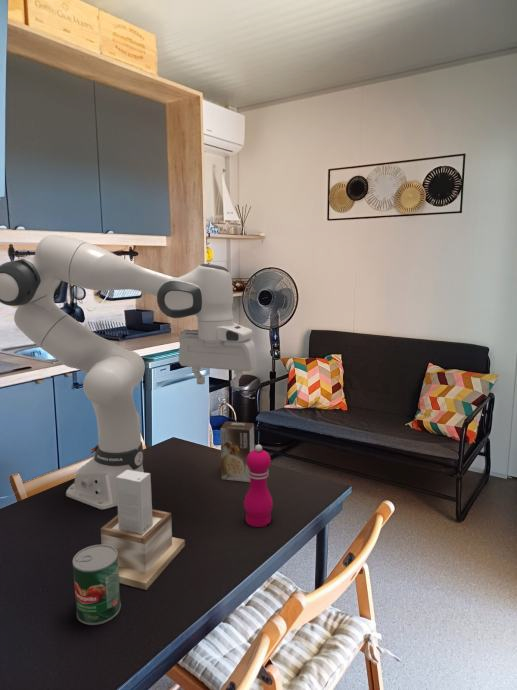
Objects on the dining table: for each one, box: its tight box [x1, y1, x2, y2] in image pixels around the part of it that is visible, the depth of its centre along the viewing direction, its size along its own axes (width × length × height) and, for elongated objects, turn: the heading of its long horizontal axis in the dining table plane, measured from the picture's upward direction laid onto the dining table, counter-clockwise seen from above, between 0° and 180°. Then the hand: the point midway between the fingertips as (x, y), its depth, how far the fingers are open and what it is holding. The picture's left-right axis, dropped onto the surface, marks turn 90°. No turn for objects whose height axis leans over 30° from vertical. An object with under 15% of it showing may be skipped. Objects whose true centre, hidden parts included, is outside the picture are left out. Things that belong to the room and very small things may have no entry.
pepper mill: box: [243, 444, 274, 528], centre depth 122 cm, size 7×7×20 cm
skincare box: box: [116, 470, 153, 534], centre depth 104 cm, size 6×4×12 cm
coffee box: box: [219, 420, 255, 483], centre depth 146 cm, size 9×6×16 cm
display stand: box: [100, 508, 186, 591], centre depth 107 cm, size 14×16×9 cm
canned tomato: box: [72, 544, 122, 626], centre depth 92 cm, size 8×8×11 cm
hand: (217, 385), depth 124 cm, fingers open, 8 cm apart
